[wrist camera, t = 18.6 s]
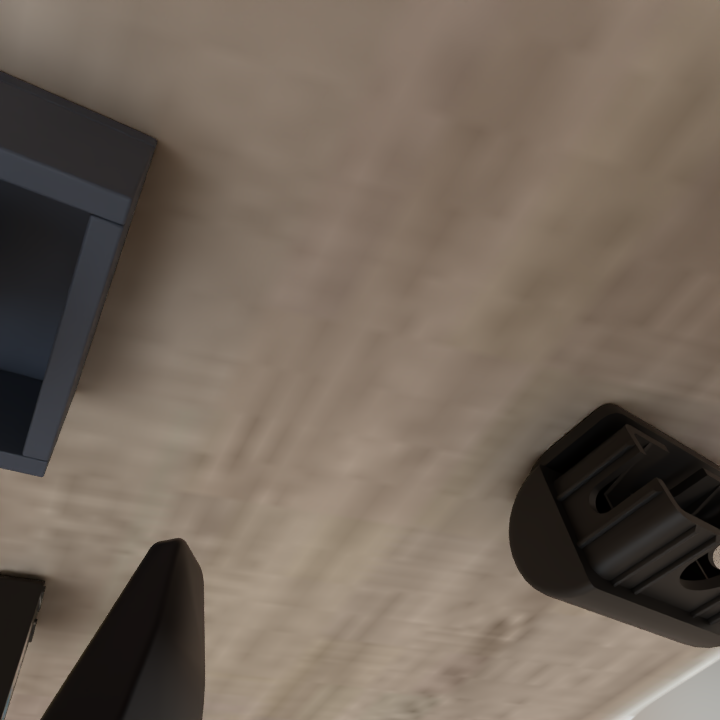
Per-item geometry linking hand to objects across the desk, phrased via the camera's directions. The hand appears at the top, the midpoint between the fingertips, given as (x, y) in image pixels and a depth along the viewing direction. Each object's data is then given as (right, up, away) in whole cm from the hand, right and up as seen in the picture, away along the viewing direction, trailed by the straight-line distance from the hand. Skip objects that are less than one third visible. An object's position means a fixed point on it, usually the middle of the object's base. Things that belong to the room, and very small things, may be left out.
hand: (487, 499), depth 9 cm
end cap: (+10, -4, +21) cm, 24 cm away
